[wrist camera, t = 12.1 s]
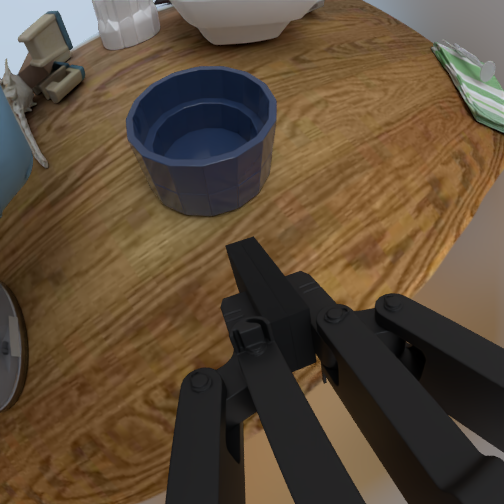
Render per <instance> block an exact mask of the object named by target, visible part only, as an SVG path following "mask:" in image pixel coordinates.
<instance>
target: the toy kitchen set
mask: <svg viewBox="0 0 504 504" xmlns="http://www.w3.org/2000/svg"><path fill="white" fill-rule="evenodd" d="M18 41H19V42H24V44H25V46H26V47H27V49H28V51H29V53H30V55H31V57H32V60H31V62H30V64H31V66H36V67H43V66H45V65H46V64H48V63H49V62H51V61H52V60H54V62H53V66H52V69H51V72H50V74H49V75H48V76H47V77H46V78H45V79H43V80H42V81H41V82H40V83H38V84H37V85H36V86H35V87H33V91H34V93H35V94H36V95H38V94H39V93H40V92H41V91H42V92H43V94H44V96H45V97H46V99H47V100H49V99H50V98H51V99H52V101H53V102H54V103H58V102H59V101H60V100H61V99H62V98H63V97H64V96H66V95H67V94H68V93H69V92H70V91H71V90H72V89H73V88H74V87H75V86H77V85H78V84H79V83H80V82H81V81H82V80H83V79H84V78H85V71H84V68H83V67H82V66H77V65H71V66H70V65H69V64H68V63H64V62H65V61H67V60H68V59H69V58H70V57H71V56H72V55H71V53H70V50H71V49H72V48H73V46H72V43H71V40H70V38H69V35H68V33H67V31H66V28H65V26H64V23H63V21H62V18H61V15H60V13H59V12H58V11H49V12H47V13H46V14H44V15H43V16H42V17H40V18H39V19H38V20H37V21H36V22H35V23H33V24H32V25H31V26H30V27H29V28H28V29H27V30H26V31H24V32H23V33H22V34H21V35H20V36H19V37H18Z"/></svg>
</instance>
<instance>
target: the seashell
mask: <svg viewBox="0 0 504 504" xmlns="http://www.w3.org/2000/svg"><path fill="white" fill-rule="evenodd" d="M0 85H1V87H2V90H3V92H4V94H5V96H6V98H7V101H8V103H9V105H10V107H11V109H12V111H13V113H14V116H15V118H16V120H17V122H18V124H19V126H20V128H21V130H22V132H23V134H24V136H25V138H26V140H27V142H28V144H29V146H30V148H31V150H32V152H33V155H34V157H35V158H36V159H37V161H38V162H39V163H40V164H41V165H42V166H44V167H45V168H48V162H47V160H46V159H45V157H44V156H43V154H42V153H41V151H40V149H39V147H38V145H37V143H36V141H35V139H34V137H33V135H32V133H31V131H30V128H29V125H28V123H27V119H26V118H25V114H24V113H25V112H28V111H32V109H30V107H32V106H34V105H36V104H37V103H34V102H33V96H34V94H33V88H30V87H29V86H28V85H27V84H26V83H25V82H24V81H23V80H22V79H21V77H20V76H19V75H13V74H12V73H11V72H10V70H9V68H8V65H7V59H6V62H5V74H4V76H3V78H2V79H0Z"/></svg>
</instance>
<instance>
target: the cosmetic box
mask: <svg viewBox="0 0 504 504" xmlns="http://www.w3.org/2000/svg"><path fill="white" fill-rule="evenodd" d="M323 6H324V0H318V1H317V2H316V3H315V4H314V5H313V6H312V7H311V8H310V10H309V11H308V12H311V11H313V10H315V9H318V8H320V7H323ZM308 12H307V13H308Z"/></svg>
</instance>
